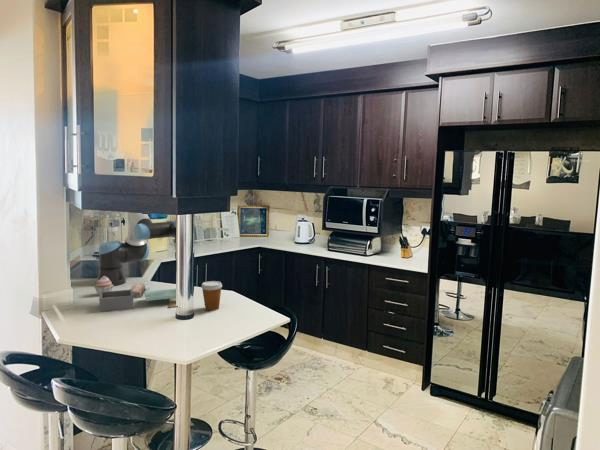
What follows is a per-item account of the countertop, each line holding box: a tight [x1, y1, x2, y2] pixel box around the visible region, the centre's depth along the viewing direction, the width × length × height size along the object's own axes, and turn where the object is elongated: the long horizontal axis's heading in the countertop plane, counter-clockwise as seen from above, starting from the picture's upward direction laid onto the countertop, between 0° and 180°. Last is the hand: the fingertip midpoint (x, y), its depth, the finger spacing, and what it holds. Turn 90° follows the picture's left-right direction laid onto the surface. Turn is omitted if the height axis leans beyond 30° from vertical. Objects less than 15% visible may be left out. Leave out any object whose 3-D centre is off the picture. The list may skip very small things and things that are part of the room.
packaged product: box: [129, 282, 151, 299], centre depth 232 cm, size 18×5×10 cm
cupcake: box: [93, 276, 114, 297], centre depth 231 cm, size 9×9×10 cm
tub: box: [98, 289, 134, 313], centre depth 209 cm, size 12×14×7 cm
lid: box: [144, 288, 177, 302], centre depth 218 cm, size 13×20×5 cm, turn 112°
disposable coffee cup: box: [201, 280, 223, 311], centre depth 210 cm, size 10×10×12 cm
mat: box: [167, 298, 177, 309], centre depth 217 cm, size 16×18×1 cm
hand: (184, 298), depth 221 cm, fingers closed on lid, 3 cm apart
